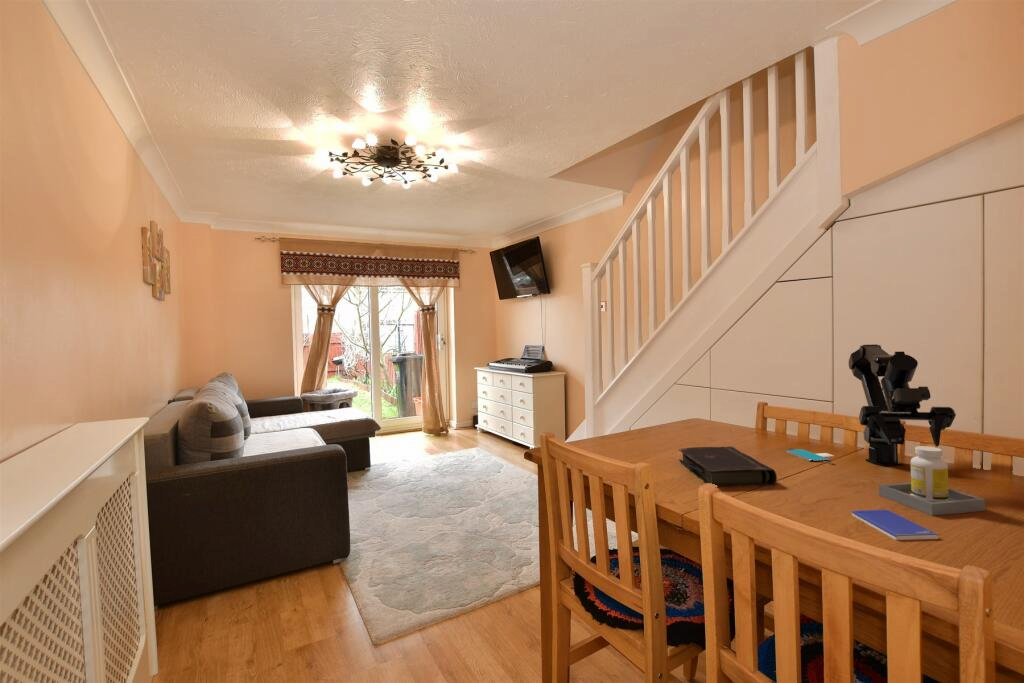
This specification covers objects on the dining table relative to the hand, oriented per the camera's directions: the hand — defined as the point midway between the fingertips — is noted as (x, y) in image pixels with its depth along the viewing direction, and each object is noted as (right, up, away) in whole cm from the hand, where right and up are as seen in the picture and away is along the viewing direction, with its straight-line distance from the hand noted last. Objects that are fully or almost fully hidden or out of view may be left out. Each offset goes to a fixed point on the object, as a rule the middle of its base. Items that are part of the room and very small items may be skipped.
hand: (913, 444), depth 116 cm
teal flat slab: (-3, -12, +34) cm, 36 cm away
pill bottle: (-3, -11, -7) cm, 13 cm away
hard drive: (-21, -14, -18) cm, 31 cm away
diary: (-38, -14, +22) cm, 46 cm away
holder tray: (-3, -12, -7) cm, 14 cm away
